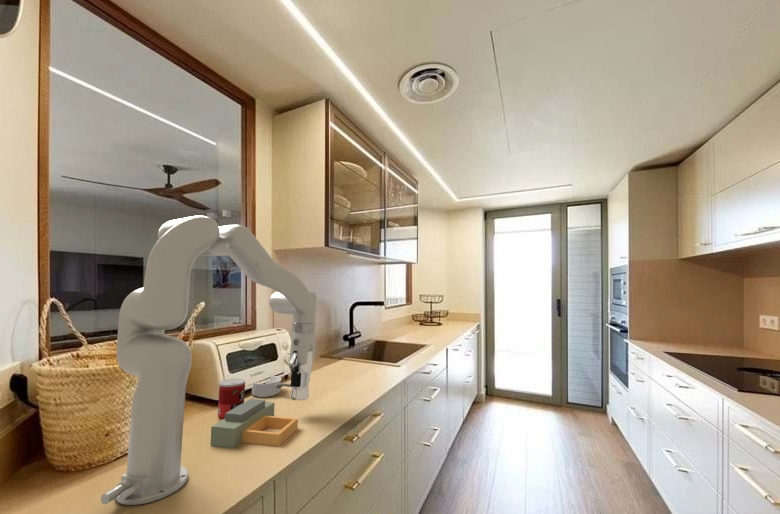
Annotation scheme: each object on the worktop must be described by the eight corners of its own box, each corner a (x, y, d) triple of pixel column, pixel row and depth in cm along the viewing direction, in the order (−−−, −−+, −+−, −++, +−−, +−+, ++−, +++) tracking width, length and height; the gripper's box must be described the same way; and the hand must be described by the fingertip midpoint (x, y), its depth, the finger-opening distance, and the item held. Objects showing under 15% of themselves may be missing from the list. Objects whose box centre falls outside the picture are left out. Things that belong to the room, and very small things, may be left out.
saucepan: (281, 405, 118) (282, 389, 118) (244, 396, 127) (244, 381, 127) (303, 395, 128) (304, 381, 128) (267, 387, 137) (267, 374, 138)
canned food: (233, 421, 103) (235, 385, 104) (211, 419, 105) (213, 383, 106) (248, 412, 111) (250, 379, 112) (228, 410, 112) (229, 377, 113)
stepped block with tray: (271, 452, 84) (272, 424, 85) (210, 445, 88) (211, 418, 88) (305, 421, 104) (306, 398, 104) (254, 416, 107) (255, 394, 108)
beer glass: (314, 396, 108) (317, 350, 110) (298, 402, 102) (301, 353, 104) (300, 392, 112) (302, 348, 113) (283, 397, 106) (286, 350, 108)
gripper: (302, 331, 100) (298, 392, 98) (323, 326, 117) (321, 378, 115) (280, 330, 102) (276, 390, 100) (304, 325, 119) (301, 376, 117)
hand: (300, 383), depth 107 cm, fingers closed on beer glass, 6 cm apart
